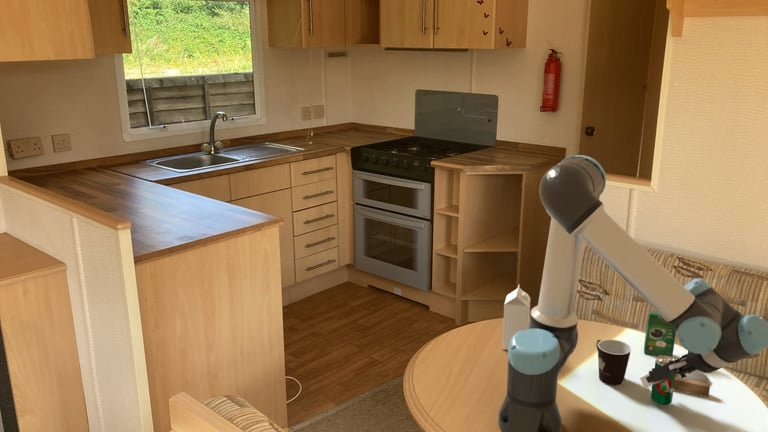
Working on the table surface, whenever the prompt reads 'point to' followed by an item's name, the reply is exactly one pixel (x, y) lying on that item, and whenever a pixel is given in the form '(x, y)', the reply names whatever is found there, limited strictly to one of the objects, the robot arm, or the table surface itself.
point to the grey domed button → (697, 376)
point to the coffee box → (659, 336)
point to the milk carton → (515, 315)
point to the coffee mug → (612, 361)
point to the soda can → (663, 384)
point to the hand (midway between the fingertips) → (652, 380)
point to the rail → (691, 386)
